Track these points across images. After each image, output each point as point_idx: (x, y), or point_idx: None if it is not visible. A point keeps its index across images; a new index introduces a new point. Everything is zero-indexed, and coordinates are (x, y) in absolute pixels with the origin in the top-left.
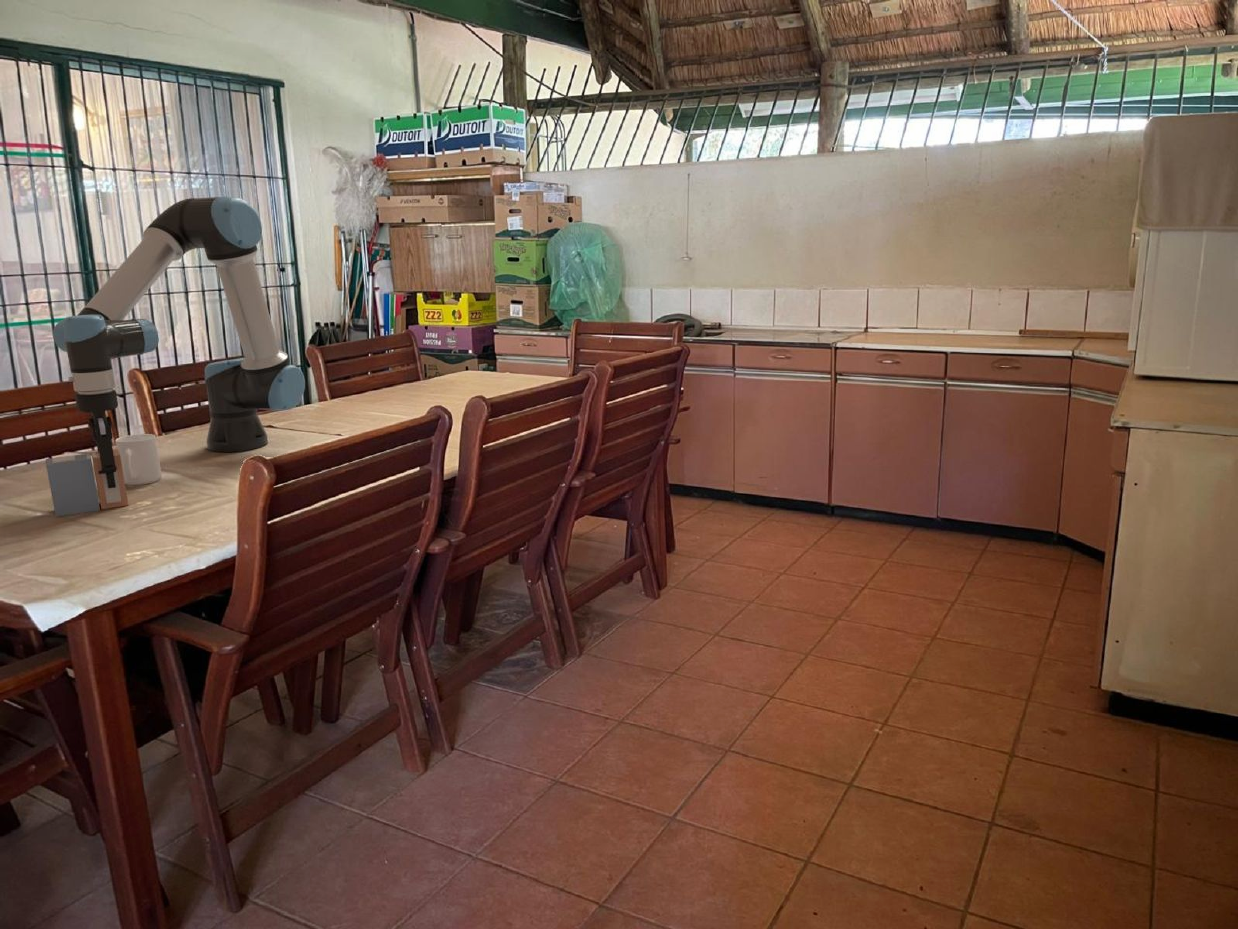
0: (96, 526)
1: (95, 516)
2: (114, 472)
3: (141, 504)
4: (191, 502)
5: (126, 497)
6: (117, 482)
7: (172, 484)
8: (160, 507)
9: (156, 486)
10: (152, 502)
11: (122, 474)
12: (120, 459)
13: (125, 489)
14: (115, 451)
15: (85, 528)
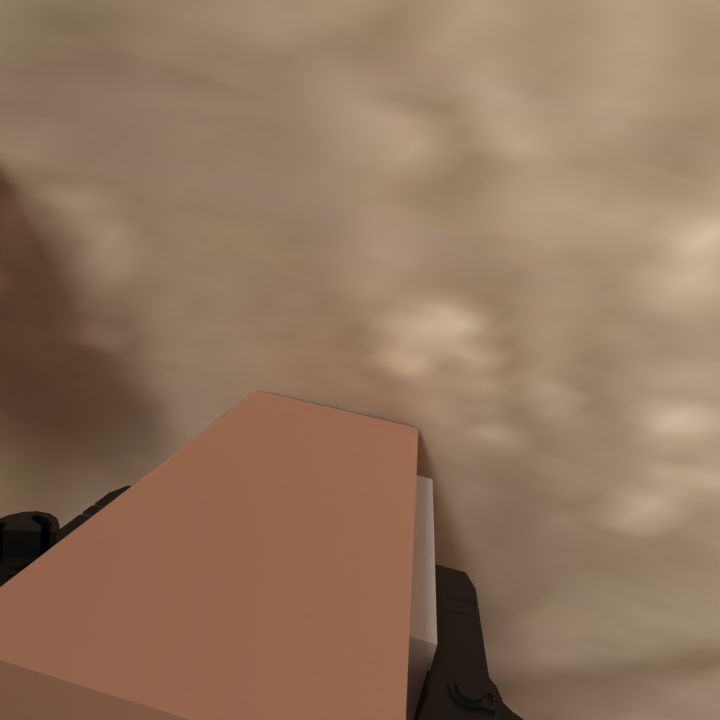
0: (705, 666)
1: (495, 606)
2: (434, 656)
3: (449, 364)
4: (695, 88)
5: (416, 450)
6: (434, 568)
7: (93, 56)
8: (627, 301)
9: (81, 161)
10: (456, 300)
11: (410, 554)
12: (405, 705)
13: (414, 475)
14: (67, 717)
15: (691, 708)
